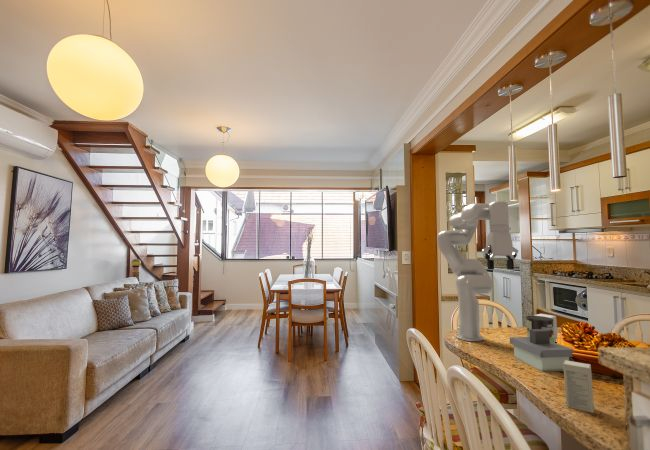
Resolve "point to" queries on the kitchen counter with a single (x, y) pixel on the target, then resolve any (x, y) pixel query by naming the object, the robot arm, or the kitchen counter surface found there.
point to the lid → (541, 344)
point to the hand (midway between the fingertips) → (500, 269)
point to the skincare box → (578, 386)
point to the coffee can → (540, 325)
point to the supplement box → (553, 324)
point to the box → (540, 360)
